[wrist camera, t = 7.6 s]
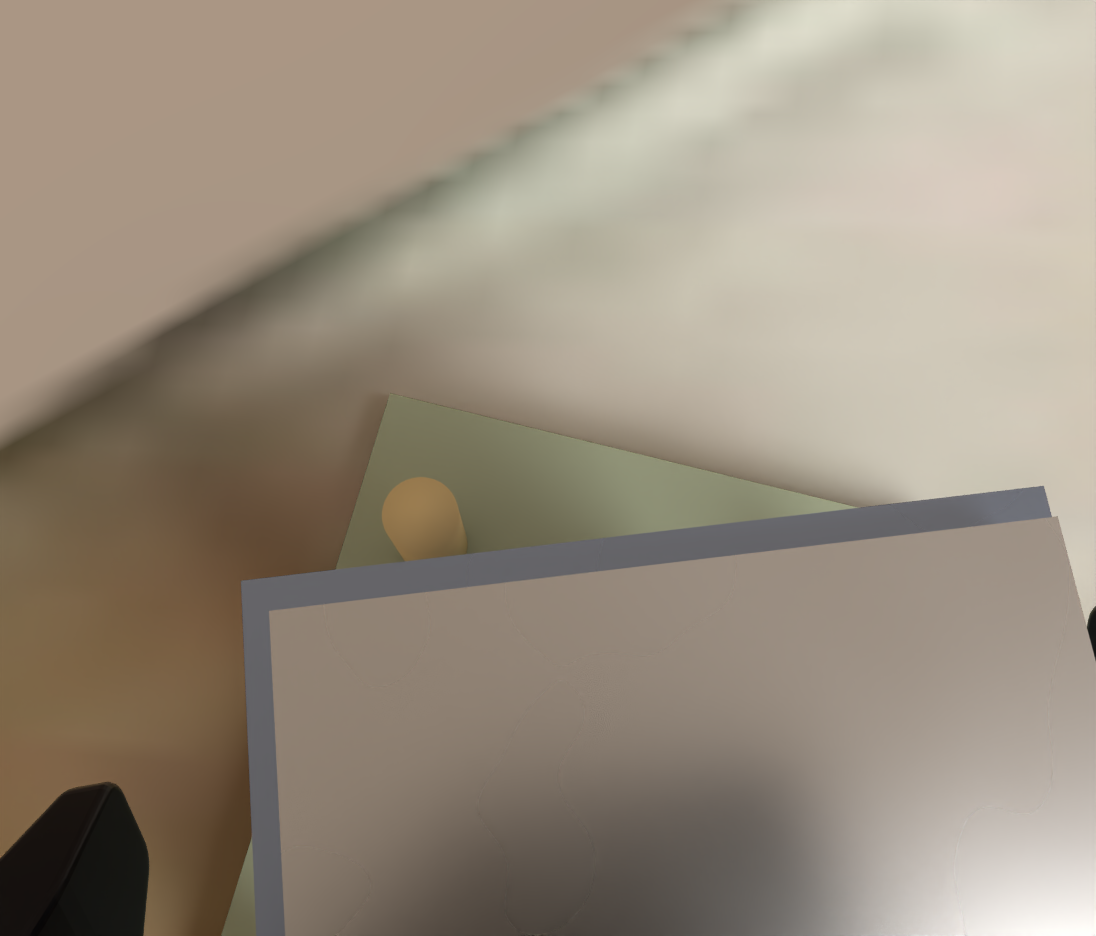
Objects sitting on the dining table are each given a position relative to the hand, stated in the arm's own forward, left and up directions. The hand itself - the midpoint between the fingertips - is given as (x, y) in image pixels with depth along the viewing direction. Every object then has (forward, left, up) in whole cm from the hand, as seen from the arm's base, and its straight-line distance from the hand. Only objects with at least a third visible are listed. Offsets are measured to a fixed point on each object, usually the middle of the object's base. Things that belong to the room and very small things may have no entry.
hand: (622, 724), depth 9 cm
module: (-1, -1, -9) cm, 9 cm away
